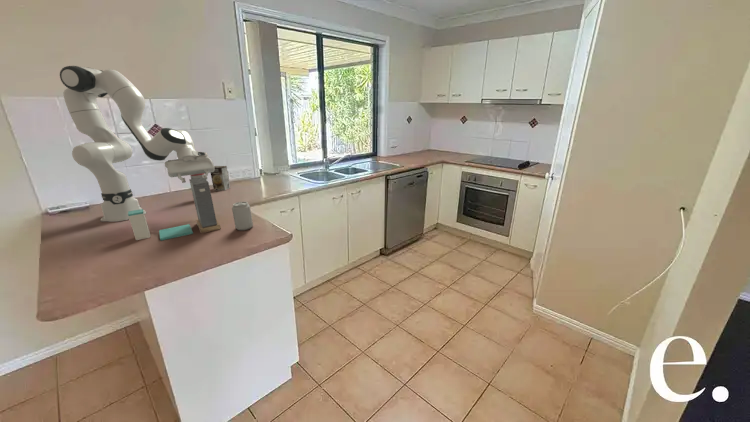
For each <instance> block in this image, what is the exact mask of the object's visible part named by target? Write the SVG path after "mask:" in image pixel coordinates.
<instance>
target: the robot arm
mask: <svg viewBox="0 0 750 422" xmlns="http://www.w3.org/2000/svg"><path fill="white" fill-rule="evenodd" d="M59 78H60V81H61V83H62V84H63V86H65V87H66V88H65V89H64V91H63V98H64V99H63V100H64V101H65V106H66V109H67V110H68V113H69V115H70V117H71V119H72V122H73V124H74V126H75V128H76V129H77V130H78V132H79V133H81V134H84V135H86V136H88V137H89V138H91V139H92V141H93V142H85V143H82V144H79V145H76V146H74V147H72V150H71V151H72V152H71V155H72V158H73V160H74V161H75V163H77V164H78V165H80V166H82V167H84V168H86V169H87V170H88V171H90V172H91V174H93V175H94V176H95V178H96V180H97V183H98V184H99V185H98V186H99V188H100V191H101V193H100V194H101V199H102V201H103V202H102V203H101V204H100V208H101V211H102V214H103V217H101V218H100V222H110V223H113V222H122V221H127V220H130V219H129V216H128V211H134V210H140V209H143V208H142V207H141V205H140V204H139V200H138V199H137V198H135V197H134V195H133V191H132V189H131V188H130V186H129V185H130V184H129V182H128V178H127V175H126V174H125V173H124V172H121V171H119V170H117V169H116V167H115V166H114V165H113V164H117V163H121V162H125V161H126V160H129V159H131V157H132V156H133V148H132V147H131V145H130V144H129V143H128V142H126V141H124V140H122V139H121V138H120V137H118V136H117V135H116V134H115V133H114V131H113V130H112V129H111V128H110V127H109V125H108V123H107V121H106V120H105V118H104V115H103V114H102V110H101V109H100V107H99V105H98V102H97V98H98V97H99V98H104V97H105V96H107V95H108V96H109V97H110V98H111V99H112V100H113V101H114V103H115V104H116V105H117V107H118V109H119V111H120V116H121V119H122V121H123V123H124V124H125V126H126V127H127V128H128V130H129V131H130V132H131V134H132V135H133V137H134V138H135V139H136V141H137V142H138V143H139V145H140V146H141V149H142V151H143V152H144V154H145V156H146V157H148V158H149V159H150V160H153V161H165V160H166V158H167V157H168V156H169V155H170V154H171V153H172V152H173V151H175V153H176V156H177V159H176V158H175V159H168V160H167V161H165V162H164V167H165V168H166V169H167V170H166V171H167V174H168V177H170V178H178V179H179V180H180V181H181V182H182V184H184V183H186V178H185V177H186V176H190V175H195V174H203V173H204V174H205V175H203V178H205V179H206V180H207V181H208V175H209V174H211V172H214V170H215V167H214V166H215V165H214V162H213V161H212V158H210V157H209V155H208V153H207V152H206V151H198V150H196V147H195V143H194V141H193V138H192V136H191V134H190V133H189V132H188V131H186V130H183V129H178V130H176V129H173V128H170V127H164V128H161V129H160V130H159V131H158V132H157V133H156V134H155V135H154V136H153V137H151V135H150V134H149V133H148V131H147V130H146V129H145V127H144V126H143V123H142V117H143V112H144V110H145V107H146V100H145V97H144V95H143V94H142V93H141V91H140V90H139V89H138V88H137V87H136V86H135V84H134V83H132V81H130V80H129V79H128V78H127V77H126V76H125V75H123V73H121V72H119V71H118V70H117V69H116V70H115V69H110V68H108V69H105V70H103V69H102V70H101V69H97V68H92V67H85V66H78V65H67V66H63V67H62V68H61V69H60V71H59ZM143 211H144V215H146V214H147V211H146V210H145V209H143Z"/></svg>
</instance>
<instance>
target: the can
mask: <svg viewBox="0 0 750 422" xmlns="http://www.w3.org/2000/svg"><path fill="white" fill-rule="evenodd" d="M231 210H232V217H233V222H234V226H235V229H237V230H238V231H247V230H249V229H250V230H251V229H252V227H253V226H254V222H253V216H252V211H251V206H250V204H249V202H247V201H238V202H237V201H236V202H235V203H233V204H232V207H231Z"/></svg>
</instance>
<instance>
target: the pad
mask: <svg viewBox="0 0 750 422" xmlns="http://www.w3.org/2000/svg"><path fill="white" fill-rule="evenodd" d="M158 231H159V232H158V233H159V239H160V241H166V240H170V239H175V238H179V237H183V236H189V235H193V234H194V232H193V229H192V227H191V224H190V223H187V224H183V225H179V226H178V225H177V226H173V227H169V228H164V229H159V230H158Z"/></svg>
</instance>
